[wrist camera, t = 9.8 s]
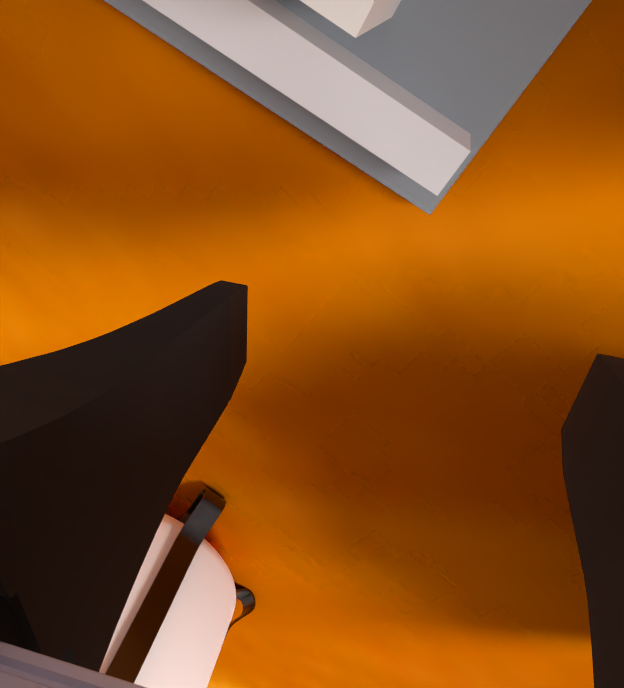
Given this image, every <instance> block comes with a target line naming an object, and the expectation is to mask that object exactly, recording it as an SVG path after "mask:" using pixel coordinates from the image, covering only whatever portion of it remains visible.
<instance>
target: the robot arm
mask: <svg viewBox="0 0 624 688" xmlns="http://www.w3.org/2000/svg"><path fill="white" fill-rule="evenodd" d="M247 291H248V286H247V285H242V284H237V283H232V282H226V281H218V282H216V283H213V284H211V285H209V286H207V287H205V288H203V289H201V290H199V291H197V292H195V293H193V294H191V295H189V296H187V297H185V298H183V299H181V300H179V301H177V302H175V303H173V304H171V305H169V306H167V307H165V308H163V309H161V310H159V311H157V312H155V313H153V314H151V315H149V316H146V317H144V318H142V319H139V320H137V321H135V322H133V323H130V324H128V325H126V326H124V327H121V328H119V329H117V330H114V331H112V332H110V333H107V334H105V335H102V336H99V337H97V338H94V339H91V340H89V341H86V342H83V343H80V344H77V345H74V346H71V347H68V348H65V349H62V350H58V351H55V352H52V353H48V354H44V355H40V356H36V357H32V358H29V359H25V360H21V361H17V362H13V363H10V364H6V365H1V366H0V688H147V687H143V686H140V685H137V684H134V683H131V682H128V681H124V680H121V679H118V678H115V677H112V676H109V675H105V674H102V673H99V670H100V668H101V665H102V663H103V660H104V658H105V655H106V652H107V650H108V647H109V645H110V642H111V639H112V637H113V634H114V632H115V629H116V626H117V624H118V621H119V619H120V617H121V614H122V612H123V609H124V607H125V604H126V602H127V600H128V597H129V595H130V592H131V590H132V587H133V585H134V583H135V580H136V578H137V575H138V573H139V571H140V568H141V566H142V564H143V562H144V559H145V557H146V555H147V553H148V550H149V548H150V546H151V543H152V541H153V539H154V537H155V534H156V532H157V530H158V528H159V526H160V523H161V521H162V519H163V517H164V515H165V513H166V511H167V508H168V506H169V504H170V502H171V500H172V498H173V496H174V494H175V491H176V490H177V488H178V486H179V484H180V482H181V481H182V479H183V477H184V475H185V473H186V472H187V470H188V468H189V467H190V465H191V463H192V462H193V460H194V459H195V457H196V455H197V454H198V452H199V450H200V449H201V447H202V445H203V444H204V442H205V441H206V439H207V437H208V436H209V434H210V432H211V431H212V429H213V427H214V426H215V424H216V422H217V421H218V419H219V417H220V416H221V414H222V412H223V411H224V409H225V407H226V406H227V404H228V402H229V401H230V399H231V397H232V395H233V392H234V390H235V388H236V386H237V383H238V381H239V379H240V376H241V374H242V371H243V369H244V366H245V364H246V360H247ZM561 437H562V461H563V475H564V480H565V485H566V490H567V496H568V501H569V506H570V511H571V516H572V520H573V525H574V530H575V535H576V540H577V544H578V549H579V554H580V559H581V564H582V569H583V573H584V580H585V586H586V592H587V599H588V610H589V621H590V633H591V644H592V658H593V674H594V688H624V359H623V358H618V357H613V356H608V355H602V354H597V356H596V358H595V360H594V362H593V364H592V366H591V368H590V370H589V372H588V374H587V377H586V379H585V381H584V383H583V385H582V387H581V389H580V391H579V393H578V395H577V398H576V400H575V402H574V404H573V406H572V408H571V410H570V412H569V414H568V416H567V418H566V421H565V423H564V425H563V427H562V429H561Z"/></svg>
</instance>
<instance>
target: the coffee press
mask: <svg viewBox="0 0 624 688" xmlns="http://www.w3.org/2000/svg"><path fill="white" fill-rule="evenodd" d="M225 504H226V501H225V500H224V499H223V498H221V497H220V496H218V495H217V494H215V493H214V492H212V491H211V490H210V489H208V488H205V489H203V490H202V492H201V493H200V494H199V495H198V496H197V498H196V499H195V500H194V502H193V503H192V504H191V506H190V507H189V508H188V510H187V511H186V512H185V514H184V515H183V516H182V517H181V518H180V519H179V520H177V519H175V518H173V517H171V516H169V515H167V514H165V515H164V517H163V519H162V521H161V523H160V526H159V528H158V530H157V532H156V534H155V537H154V539H153V541H152V543H151V546H150V548H149V550H148V553H147V555H146V557H145V559H144V562H143V564H142V566H141V568H140V571H139V573H138V575H137V578H136V580H135V583H134V585H133V587H132V590H131V592H130V595H129V597H128V600H127V602H126V604H125V607H124V609H123V612H122V614H121V617H120V619H119V621H118V624H117V626H116V629H115V632H114V634H113V637H112V639H111V642H110V645H109V647H108V650H107V652H106V655H105V658H104V660H103V663H102V665H101V668H100V670H99V673H102V674H105V675H109V676H112V677H115V678H118V679H121V680H124V681H128V682H131V683H134V684H137V685H140V686H143V687H147V688H207V685H208V683H209V680H210V677H211V674H212V672H213V669H214V666H215V663H216V661H217V658H218V655H219V652H220V650H221V647H222V645H223V642H224V639H225V637H226V635H227V633H228V631H229V629H230V627H231V626H232V625H233V624H234V623H236V622H237V621H238V620H240V619H241V618H243V617H244V616H246V615H247V614H249V613H251V612H252V611H253V609H254V607H255V597H254V595H253V593H252V592H251V591H250V590H249V589H246V588H242V589H238V590H236V589H235V584H234V580H233V577H232V575H231V572H230V570H229V568H228V566H227V565H226V563H225V561H224V560H223V558H222V557H221V556H220V554H219V553H218V552H217V551H216V550H215V548H214V547H213V546H212V545H211V544H210V543H209V542H208V541H207V540H205V539H204V538H205V536H206V535H207V533H208V532H209V530H210V529H211V527H212V526H213V524H214V523H215V521H216V520H217V518H218V517H219V515H220V514H221V512H222V510H223V509H224V506H225ZM236 597H238V598H239V599H240V600H241V602H242V604H243V612H242V614H241V615H240V616H239V617H237V618H236V619H234V620H233V621H231V619H232V616H233V613H234V609H235V605H236Z"/></svg>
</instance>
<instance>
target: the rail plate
mask: <svg viewBox="0 0 624 688" xmlns="http://www.w3.org/2000/svg"><path fill="white" fill-rule="evenodd" d="M104 1H105V2H107V3H109V4H110V5H112V6H113V7H115V8H116V9H118V10H119V11H121V12H122V13H124V14H125V15H127V16H128V17H130V18H131V19H133V20H134V21H136V22H137V23H139V24H140V25H142V26H143V27H145V28H147V29H148V30H150V31H151V32H153V33H154V34H156V35H157V36H159V37H160V38H162V39H163V40H165V41H166V42H168V43H169V44H171V45H172V46H174V47H175V48H177V49H178V50H180V51H181V52H183V53H184V54H186V55H188V56H189V57H191V58H192V59H194V60H195V61H197V62H198V63H200V64H201V65H203V66H204V67H206V68H207V69H209V70H210V71H212V72H213V73H215V74H216V75H218V76H219V77H221V78H222V79H224V80H226V81H227V82H229V83H230V84H232V85H233V86H235V87H236V88H238V89H239V90H241V91H242V92H244V93H245V94H247V95H248V96H250V97H251V98H253V99H254V100H256V101H257V102H259V103H260V104H262V105H264V106H265V107H267V108H268V109H270V110H271V111H273V112H274V113H276V114H277V115H279V116H280V117H282V118H283V119H285V120H286V121H288V122H289V123H291V124H292V125H294V126H295V127H297V128H298V129H300V130H302V131H303V132H305V133H306V134H308V135H309V136H311V137H312V138H314V139H315V140H317V141H318V142H320V143H321V144H323V145H324V146H326V147H327V148H329V149H330V150H332V151H333V152H335V153H336V154H338V155H340V156H341V157H343V158H344V159H346V160H347V161H349V162H350V163H352V164H353V165H355V166H356V167H358V168H359V169H361V170H362V171H364V172H365V173H367V174H368V175H370V176H371V177H373V178H374V179H376V180H378V181H379V182H381V183H382V184H384V185H385V186H387V187H388V188H390V189H391V190H393V191H394V192H396V193H397V194H399V195H400V196H402V197H403V198H405V199H406V200H408V201H409V202H411V203H412V204H414V205H416V206H417V207H419V208H420V209H422V210H423V211H425V212H426V213H428V214H429V215H430V214H431V213H432V212H433V210H434V209H435V208H436V206H437V205H438V204H439V202H440V201H441V200H442V198H443V197H444V196H445V194H446V193H447V192H448V190H449V189H450V188H451V186H452V185H453V184H454V182H455V181H456V180H457V178H458V177H459V176H460V174H461V173H462V172H463V170H464V169H465V168H466V167H467V165H468V164H469V163H470V161H471V160H472V159H473V157H474V156H475V155H476V153H477V152H478V151H479V149H480V148H481V147H482V145H483V144H484V143H485V141H486V140H487V139H488V137H489V136H490V135H491V133H492V132H493V131H494V129H495V128H496V127H497V125H498V124H499V123H500V122H501V120H502V119H503V118H504V116H505V115H506V114H507V112H508V111H509V110H510V108H511V107H512V106H513V104H514V103H515V102H516V100H517V99H518V98H519V96H520V95H521V94H522V92H523V91H524V90H525V88H526V87H527V86H528V84H529V83H530V82H531V80H532V79H533V78H534V77H535V75H536V74H537V73H538V71H539V70H540V69H541V67H542V66H543V65H544V63H545V62H546V61H547V59H548V58H549V57H550V55H551V54H552V53H553V51H554V50H555V49H556V47H557V46H558V45H559V43H560V42H561V41H562V39H563V38H564V37H565V35H566V34H567V33H568V31H569V30H570V29H571V28H572V26H573V25H574V24H575V22H576V21H577V20H578V18H579V17H580V16H581V14H582V13H583V12H584V10H585V9H586V8H587V6H588V5H589V4H590V2H591V1H592V0H401V1H400V3H399V5H398V7H397V9H396V11H395V12H394V14H393V16H392V17H391V18H390V19H388V20H386V21H384V22H383V23H381V24H379V25H377V26H376V27H374V28H372V29H370V30H369V31H367V32H365V33H364V34H362V35H360V36H358V37H357V38H355V37H353V36H352V35H350V34H349V33H347V32H346V31H344V30H343V29H341V28H340V27H339V26H337V25H336V24H334V23H333V22H331V21H330V20H328V19H327V18H325V17H324V16H322V15H321V14H319V13H318V12H316V11H315V10H313V9H312V8H310V7H309V6H307V5H306V4H304V3H303V2H302V1H300V0H104Z"/></svg>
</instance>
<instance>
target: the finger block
mask: <svg viewBox="0 0 624 688" xmlns="http://www.w3.org/2000/svg"><path fill="white" fill-rule="evenodd" d="M300 1H302V2H303V3H304V4H306V5H307V6H309V7H310V8H312V9H313V10H315V11H316V12H318V13H319V14H321V15H322V16H324V17H325V18H327V19H328V20H330V21H331V22H333V23H334V24H336V25H337V26H339V27H340V28H341V29H343V30H344V31H346V32H347V33H349V34H350V35H352V36H353V37H355V38H357V37H358V36H360V35H362V34H364V33H365V32H367V31H369V30H370V29H372V28H374V27H376V26H377V25H379V24H381V23H383V22H384V21H386V20H388V19H390V18H391V17H392V16H393V14H394V12H395V11H396V9H397V7H398V5H399V3H400V1H401V0H300Z"/></svg>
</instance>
